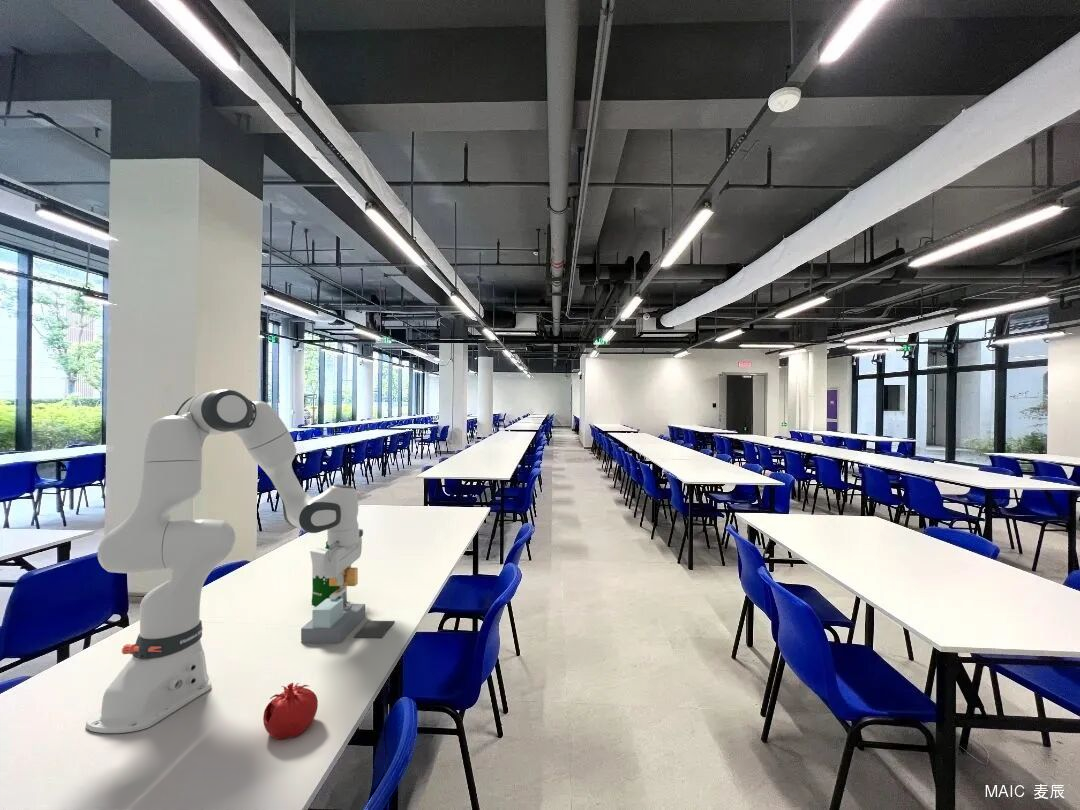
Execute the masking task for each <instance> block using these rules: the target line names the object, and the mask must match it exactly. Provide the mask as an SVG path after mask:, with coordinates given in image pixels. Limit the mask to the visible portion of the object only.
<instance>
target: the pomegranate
mask: <svg viewBox="0 0 1080 810" xmlns="http://www.w3.org/2000/svg"><path fill="white" fill-rule="evenodd" d="M299 684H300V682H297V683H296V684H295V685H294V682H291V683H289V684H287V686H284V685H283V686H282V685H281V688H283V691H282V692H281V693H280V694H274V695H272V696H271V697H269V699H270V700H271V701H269V703H268V704H267V705H266V707H265V709H264V712H263V717H262V721H263V726H264V729H265V730H266V733H268V735H269V736H270V737H272V738H273V739H277V740H284V739H285V740H286V739H288V738H295V737H298V736H299V735H301V734H303V732H304V731H306V730H307V729H308V728H309V727H310V726H311V724H313V722H314V719H315V716H316V715H317V712H318V708H319V707H318V705H319V704H318V700H319V699H318V696H317V695H316V694H315V692H314V691H312V690H311V689H309V688H307V687H309V685H307V684H303V685H299Z"/></svg>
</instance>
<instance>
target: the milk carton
mask: <svg viewBox="0 0 1080 810" xmlns="http://www.w3.org/2000/svg"><path fill="white" fill-rule="evenodd" d="M327 550H329V545H328V540H327V541H326V542H325V545H324V546H321V547H317V548H315V549H312V550H309V553H310V559H311V566H312V567H311V569H312V573H311V574H312V577H311V578H312V592H311V605H314V606H316V607H317V606H318V605H319V604H320V603H322V602H323V601H324V600H325V599H327V598H330V595H331V594H333V593H334V592H335V591H336V590H338V589H339V588H340V586H329V578H325V577H324V574H323V568H324V556H325V553H326V551H327ZM337 599H340V596H339V597H338V598H337Z"/></svg>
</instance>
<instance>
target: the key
mask: <svg viewBox="0 0 1080 810" xmlns="http://www.w3.org/2000/svg"><path fill="white" fill-rule="evenodd" d="M358 570H359V568H358V567H351V568H346V569H345V570H344V573H343V576H344V578H345V583H344V584H343V585H337V578H336V577H335V578H329V586H340V588H339V589H338V590H336V591H335V592H334V593H333V594H331V595H330V599H337V598H338V597H339V596H340V599H343V608H344V607H346V606H347V603H348V595H347V593H348V590H347V589H348V587H356V586H357V585H358V584H359V583H358V579H359V578H358V577H359V576H358V575H359V574H358V572H359V571H358Z"/></svg>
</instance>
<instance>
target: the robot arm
mask: <svg viewBox="0 0 1080 810" xmlns="http://www.w3.org/2000/svg"><path fill="white" fill-rule="evenodd" d="M228 432H229V433H230V432H232V433H234V434H236V435H237V436H238V437H239V439H241V440H242V442H243V443H242V444H243V445H244V446H245V448H246V449H247V452H248V453H249V454H250V456H251V458H252V459H253V460H254V461H255V463H256V464H257V465H258V466H259V467H260V469H262V470H263V471H264V472H265V474H266V475H267V477H268V478H269V479H270V481H271V483H272V485H273V486H274V489H275V490H276V492H277V494H278V495H279V497H280V500H281V502H282V510H283V511H282V512H283V518H284V520H285V522H286V523H287V524H288V525H289V526H290V527H293V528H295V529H296V528H297V529H299V530H300V531H303V532H306V533H308V534H317V533H320V532H324V531H327V533H326V535H327V541H328V545H329V550H327V551H326V553H325V556H324V568H323V574H324V577H325V578H335V577H336V578H337V585H343V584H344V583H345V578H344V576H343V573H344V570H345V569H346V568H352V564H354V563H355V562H356V561H358V560H359V559H360V558H361V556H362V555H361V554H362V548H363V546H362V545H363V540H362V539H363V537H364V530H363V529H362V528H359V522H358V516H359V499H358V492H357V490H356V488H355V487H353V486H351V485H348V484H347V485H346V484H332V485H331V484H330V486H329V487H328V488H327V489H325V490H324V491H323V492H321V493H320V494H318V495H317V496H311V495H310V494H308V493H307V492H306V491H305V490H304V489H303V487H302V484H300V481H299V479H298V478H297V476H296V474H295V472H294V470H293V465H292V464H293V461H294V459H295V457H296V454H297V448H296V444H295V441H294V439H293V437H292V435H291V433H290V431H289V430H288V428H287V426H286V424H285V423H284V422H283V420H282V419H281V417H280V415H278V413H277V412H276V411H275V410H274V408H273V407H271V405H269V403H267V402H265V401H263V400H262V401H261V400H253V401H252V400H251V399H248V398H247V397H246V396H245V395H243V394H242V393H241V392H238V391H236V390H233V389H226V388H225V389H223V388H222V389H216V390H211V391H210V390H209V391H205V392H202V393H199V394H196V395H194V396H191V397H189V398H188V399H186V400H184V402H183V403H182V404H181V405H180V406H179V408H178V409H177V411H176V412H175V413H174V415H166V416H163V417H159V418H158V419H156V420H155V421H154V422H152V423H151V425H150V428H149V432H148V434H147V438H146V442H145V448H144V454H143V455H144V457H143V468H142V469H143V470H142V471H143V472H142V481H141V489H140V493H139V494H140V495H139V498H138V500H137V503H136V505H135V507H134V508H133V510H132V512H130V514H129V515H128V516H127V518H125V519H124V520H123V521H122V522H121V523H120V524H119V525H117V526H116V527H114V528H113V529H111V530H110V531H108V532H107V533H106V534H105V536H104V537H103V538H102V540H101V541H100V543H99V545H98V549H97V560H98V563H99V564H100V566H101V567H102V568H103V569H104V570H105V571H107V572H108V573H114V574H115V573H117V574H141V573H151V572H159V571H171V577H170V579H168V580H167V581H165V582H162V583H161V584H160V585H158V586H155V587H154V588H153V589H151V590H150V591H148V592H147V593H145V595H144V597H142V599H141V601H140V605H139V634H138V635H137V638H136V640H135V643H134V644H131V643H126V644H124V645H123V647H122V648H121V654H122V655H132V657H131V658H130V659H129V661H128V662H127V663H126V664H125V665H124V667H123V668H122V669H121V670H120V672H118V674H117V676H116V677H115V678H114V679H113V681H112V682H111V683H110V684H109V686H108V687H107V688H106V689H105V691H104V692H103V693H104V694H103V697H102V703H101V708H100V710H98V711H97V712H96V713H95V714H93V715H92V716H91V717H90V718H89V719H87V721H85V728H86V729H87V730H88V729H89V730H88V731H90V732H95V733H101V734H124V733H125V734H126V733H132V732H137V731H141V730H145V729H148V728H150V727H152V726H154V725H155V724H157V723H158V722H160V721H162V720H163V719H165V718H166V717H168V716H170V715H171V714H173V713H174V712H176V711H178V710H179V709H181V708H182V707H184V706H186V705H187V704H188V703H191V702H192V701H193V700H195V699H197V698H198V697H200V696H202V695H203V694H204V693H207V691H209V690H211V689H212V683H211V681H210V679H209V675H208V670H207V663H206V662H207V661H206V656H205V651H204V648H203V646H202V643H201V638H202V636H203V623H202V620H201V619H200V617H201V616H200V614H201V612H200V610H201V598H202V591H203V587H204V584H205V582H206V580H207V579H208V577H209V575H210V574H211V572H212V571H213V570H214V569H215V568H216V567H217V566H218V565H219V564H220V563H222V562H223V561H224V560H225V559H227V558H228V556H230V554H231V553H232V551H233V549H234V547H235V544H236V533H235V529H234V527H233V526H232V525H231V524H230V522H228V521H227V520H224V519H215V518H214V519H213V518H195V519H183V520H171V515H172V513H173V511H174V510H175V509H176V508H179V507H180V506H183V505H185V504H188V502H191V501H192V500H194V499H195V498H196V497H197V496H199V494H200V491H201V490H202V466H203V464H202V462H203V453H202V452H203V451H202V449H203V446H204V443H205V440H206V438H207V437H208V436H209V435H211V436H212V435H213V436H214V435H221V434H225V433H228Z"/></svg>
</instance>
